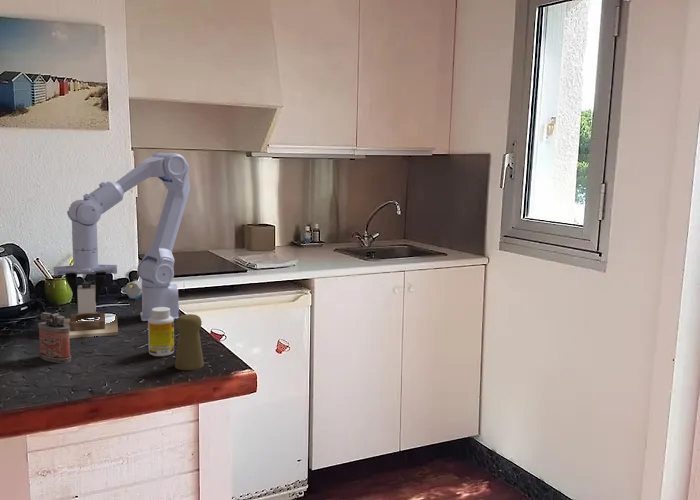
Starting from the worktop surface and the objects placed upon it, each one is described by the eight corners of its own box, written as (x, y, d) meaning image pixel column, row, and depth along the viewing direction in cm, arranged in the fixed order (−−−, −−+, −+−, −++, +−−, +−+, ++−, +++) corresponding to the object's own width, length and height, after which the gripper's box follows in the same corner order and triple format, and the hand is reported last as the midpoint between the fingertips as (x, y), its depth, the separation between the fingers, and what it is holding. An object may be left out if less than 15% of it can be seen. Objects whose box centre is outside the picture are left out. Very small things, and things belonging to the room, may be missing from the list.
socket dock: (117, 318, 177) (116, 308, 177) (118, 335, 163) (117, 324, 162) (59, 321, 173) (59, 311, 172) (55, 339, 158) (54, 327, 157)
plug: (95, 307, 170) (95, 280, 169) (95, 312, 165) (94, 284, 164) (79, 308, 168) (78, 281, 167) (78, 313, 164) (77, 285, 163)
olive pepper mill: (200, 370, 139) (199, 319, 137) (171, 369, 139) (170, 318, 138) (206, 361, 145) (206, 312, 143) (179, 360, 145) (178, 311, 143)
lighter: (75, 359, 144) (73, 314, 142) (62, 363, 141) (60, 318, 139) (48, 353, 147) (46, 309, 146) (35, 357, 144) (33, 313, 143)
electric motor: (119, 299, 199) (118, 282, 198) (126, 295, 203) (126, 279, 202) (140, 300, 198) (140, 284, 197) (148, 297, 202) (147, 281, 201)
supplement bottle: (176, 355, 149) (176, 310, 147) (151, 358, 146) (150, 313, 144) (171, 348, 153) (171, 305, 152) (146, 351, 151) (145, 307, 149)
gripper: (51, 252, 158) (54, 308, 160) (116, 250, 163) (117, 304, 165) (54, 247, 165) (56, 301, 167) (116, 246, 170) (117, 298, 172)
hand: (86, 302), depth 167 cm, fingers closed on plug, 4 cm apart
